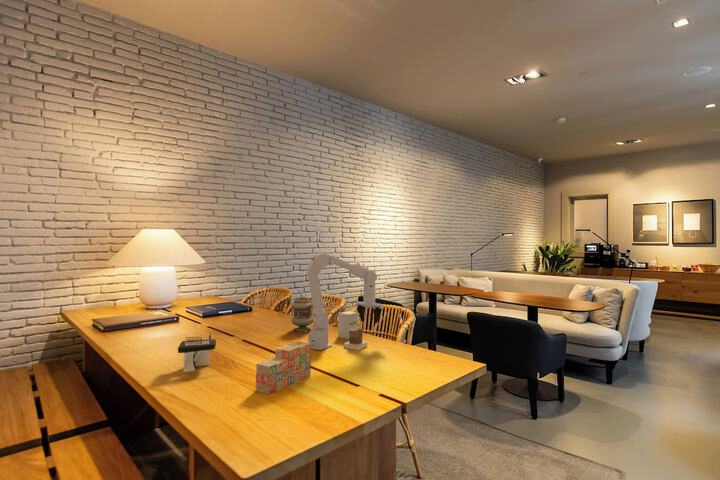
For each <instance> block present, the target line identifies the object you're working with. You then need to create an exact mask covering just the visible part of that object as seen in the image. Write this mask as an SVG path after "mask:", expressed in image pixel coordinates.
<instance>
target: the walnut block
mask: <svg viewBox="0 0 720 480" xmlns="http://www.w3.org/2000/svg"><path fill="white" fill-rule="evenodd" d="M362 341H363V329H362V328H361V329H360V328H357V329H355V328H354V329H351V330H349V339H348V342H349V343H352V344H359V343H362Z"/></svg>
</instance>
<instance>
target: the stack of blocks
mask: <svg viewBox="0 0 720 480" xmlns="http://www.w3.org/2000/svg"><path fill="white" fill-rule="evenodd" d="M311 350H312V349H311V344H309V343H308V342H304V341H295V342H291V343H288V344H285V345H282V346H279V347H276V348H275V353H274V354H275V356H274V357H271V358H268V359H266V360H263V361H260V362H257V363H256V365H255V366H256V370H255V371H256V372H255V391H256V392H260V393H263V394H266V395H270V394H273V393H275V392H278V391H280V390H281V389H284V388H285V389H286V387H287V388H288V387H290V386H291V385H293V384H295V383H297V382H300V381H302V380H304V379H306V378H309V377H311V358H312V354H311V353H312V352H311Z"/></svg>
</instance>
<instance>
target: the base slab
mask: <svg viewBox="0 0 720 480" xmlns="http://www.w3.org/2000/svg"><path fill="white" fill-rule="evenodd" d="M367 347H368V341H364V340H362V343H359V344H352V343H349V341H347V342H344V343H343V348H345V349H351V350H355V351H360V350H361V349H364V348H367Z"/></svg>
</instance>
